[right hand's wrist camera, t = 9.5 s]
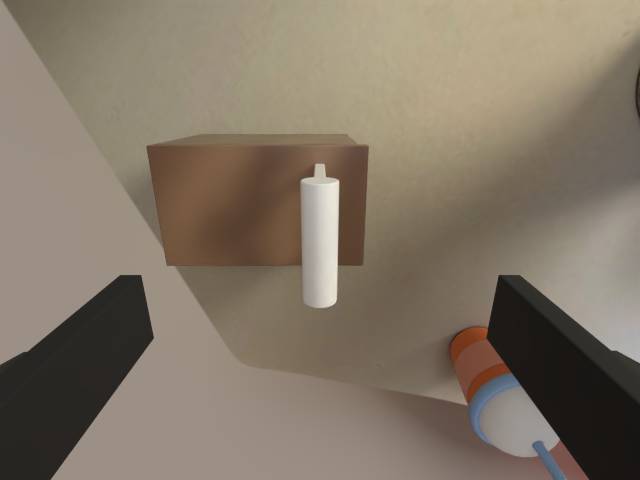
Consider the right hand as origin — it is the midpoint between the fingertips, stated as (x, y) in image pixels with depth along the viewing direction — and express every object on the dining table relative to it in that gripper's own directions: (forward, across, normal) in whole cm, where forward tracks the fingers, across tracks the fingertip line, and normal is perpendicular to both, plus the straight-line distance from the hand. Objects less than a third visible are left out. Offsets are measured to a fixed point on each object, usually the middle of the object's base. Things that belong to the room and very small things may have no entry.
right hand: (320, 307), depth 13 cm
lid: (+14, -4, 0) cm, 15 cm away
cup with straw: (+25, +20, -21) cm, 38 cm away
